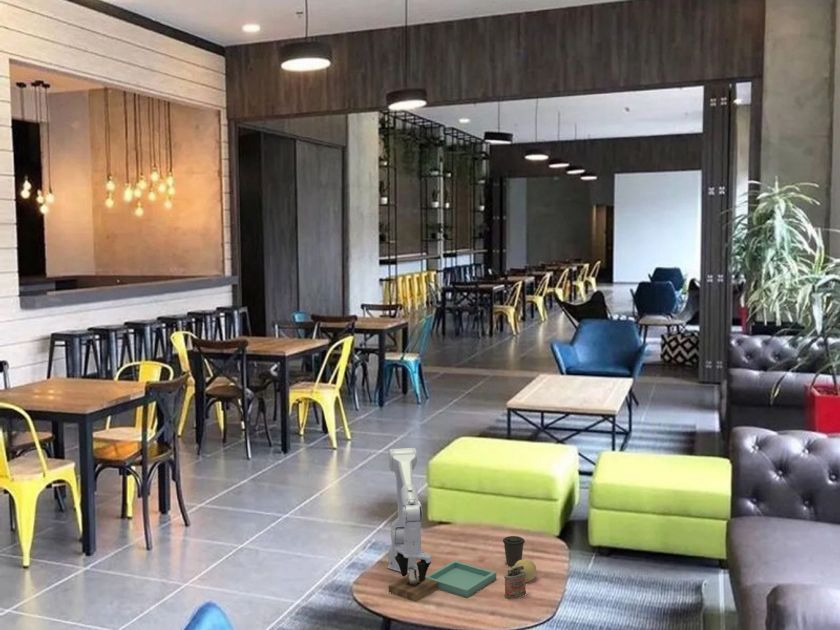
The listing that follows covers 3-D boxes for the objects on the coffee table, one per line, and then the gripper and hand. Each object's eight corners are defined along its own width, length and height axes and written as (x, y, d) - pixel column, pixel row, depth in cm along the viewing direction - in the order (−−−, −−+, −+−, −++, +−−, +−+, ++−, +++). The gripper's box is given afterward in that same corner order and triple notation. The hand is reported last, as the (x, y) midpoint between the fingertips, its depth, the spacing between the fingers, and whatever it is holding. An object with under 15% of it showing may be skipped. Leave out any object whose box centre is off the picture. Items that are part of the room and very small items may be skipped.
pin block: (388, 592, 278) (388, 585, 278) (410, 580, 288) (410, 573, 287) (416, 601, 271) (416, 594, 271) (438, 588, 280) (438, 581, 280)
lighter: (508, 600, 271) (507, 570, 270) (502, 596, 274) (502, 567, 273) (528, 594, 274) (528, 566, 273) (522, 591, 277) (522, 562, 276)
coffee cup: (500, 567, 298) (499, 540, 297) (506, 558, 305) (506, 532, 304) (521, 570, 295) (521, 543, 294) (527, 561, 302) (527, 535, 301)
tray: (424, 584, 284) (424, 577, 284) (454, 567, 298) (454, 560, 298) (467, 597, 273) (467, 590, 273) (496, 579, 287) (496, 572, 287)
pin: (407, 591, 279) (406, 568, 278) (412, 588, 281) (412, 565, 280) (414, 593, 277) (413, 570, 276) (419, 590, 279) (419, 567, 279)
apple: (537, 584, 282) (525, 566, 280) (517, 589, 286) (506, 571, 285) (542, 569, 288) (531, 552, 287) (523, 574, 292) (512, 557, 291)
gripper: (388, 538, 279) (389, 577, 280) (422, 547, 270) (423, 587, 271) (401, 532, 284) (402, 570, 286) (435, 541, 275) (435, 580, 277)
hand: (413, 578), depth 279 cm, fingers open, 7 cm apart
